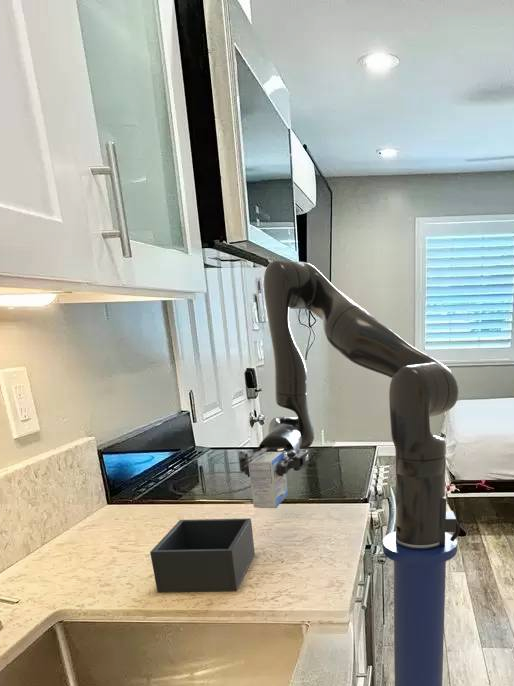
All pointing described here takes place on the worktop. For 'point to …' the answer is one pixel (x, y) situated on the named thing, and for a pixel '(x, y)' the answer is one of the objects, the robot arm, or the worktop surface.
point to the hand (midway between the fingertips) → (264, 471)
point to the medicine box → (267, 480)
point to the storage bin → (203, 556)
